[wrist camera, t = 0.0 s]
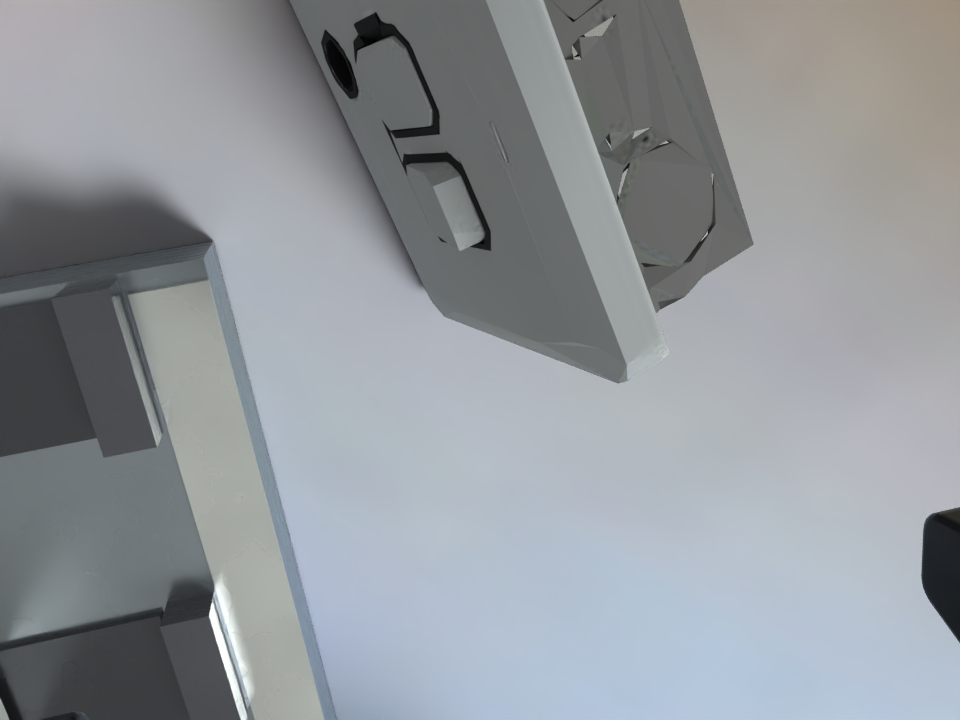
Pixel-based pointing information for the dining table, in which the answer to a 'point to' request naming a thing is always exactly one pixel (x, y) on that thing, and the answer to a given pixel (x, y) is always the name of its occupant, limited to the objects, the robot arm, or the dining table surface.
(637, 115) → the electrical switch
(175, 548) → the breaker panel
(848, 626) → the dining table surface
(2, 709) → the breaker
